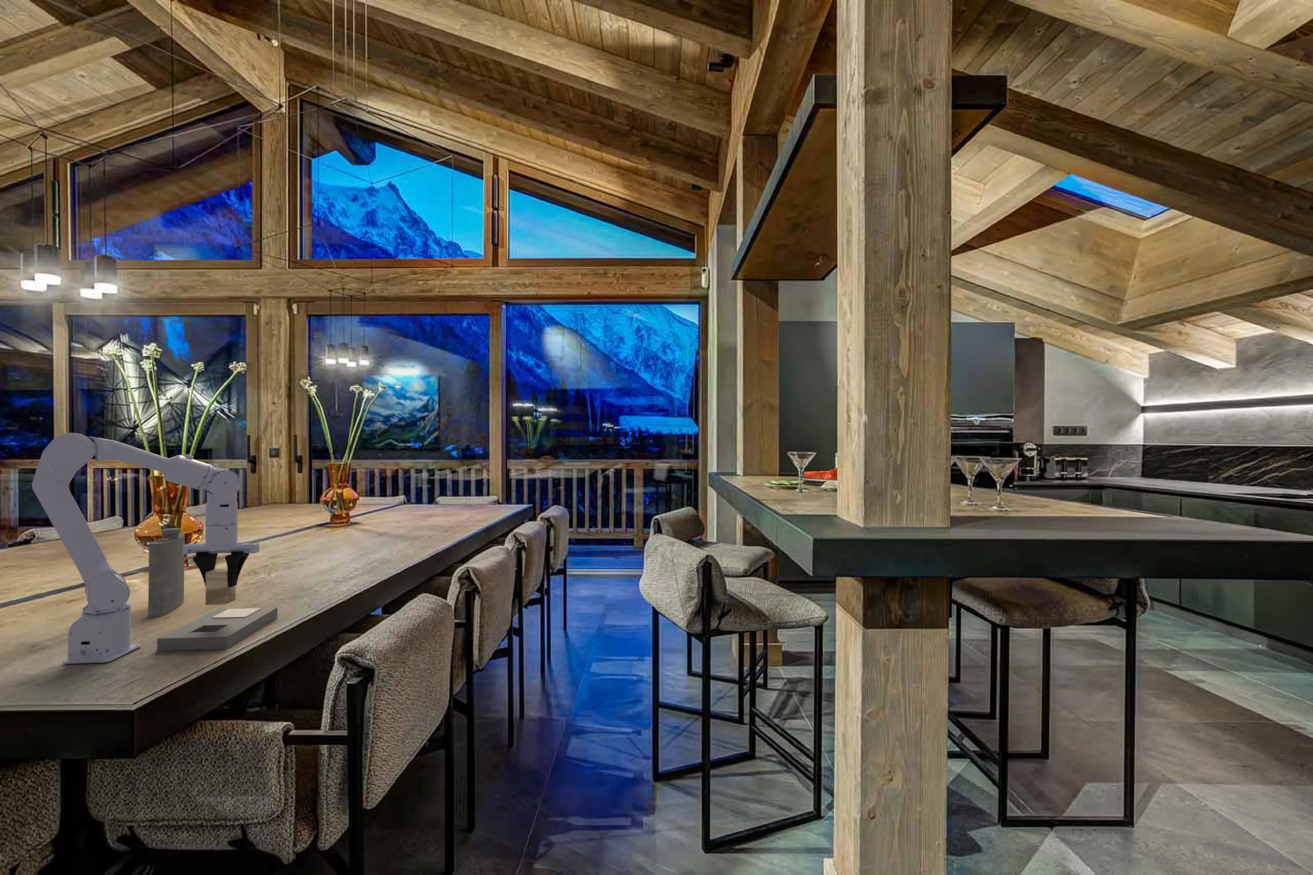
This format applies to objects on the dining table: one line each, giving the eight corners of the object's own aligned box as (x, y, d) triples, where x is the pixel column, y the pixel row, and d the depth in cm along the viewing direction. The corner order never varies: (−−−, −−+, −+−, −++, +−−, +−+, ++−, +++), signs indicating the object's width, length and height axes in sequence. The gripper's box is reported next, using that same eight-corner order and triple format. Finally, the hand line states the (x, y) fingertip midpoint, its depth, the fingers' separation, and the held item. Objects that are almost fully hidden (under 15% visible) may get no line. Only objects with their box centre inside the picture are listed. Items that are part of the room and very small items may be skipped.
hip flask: (171, 601, 163) (172, 524, 163) (189, 599, 164) (190, 523, 164) (145, 617, 148) (146, 533, 148) (166, 616, 149) (167, 532, 149)
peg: (225, 604, 135) (225, 572, 135) (205, 604, 134) (205, 572, 134) (235, 599, 139) (235, 568, 139) (216, 600, 138) (216, 568, 138)
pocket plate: (227, 648, 127) (227, 635, 127) (157, 650, 126) (157, 637, 126) (277, 617, 149) (277, 606, 149) (218, 619, 147) (218, 607, 147)
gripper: (266, 521, 141) (265, 581, 141) (196, 521, 140) (196, 582, 140) (250, 525, 134) (249, 588, 135) (176, 526, 133) (176, 590, 133)
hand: (221, 586), depth 137 cm, fingers closed on peg, 4 cm apart
